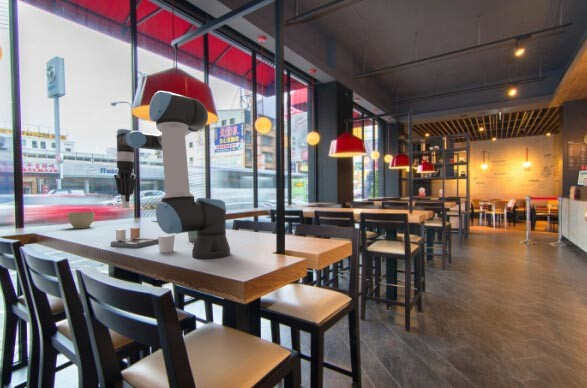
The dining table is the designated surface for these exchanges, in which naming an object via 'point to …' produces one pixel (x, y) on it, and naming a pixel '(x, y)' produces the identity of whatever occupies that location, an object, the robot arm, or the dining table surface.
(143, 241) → the dark grey tray
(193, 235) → the coffee cup
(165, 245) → the white tapered cup
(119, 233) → the cylinder
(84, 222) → the planter bowl
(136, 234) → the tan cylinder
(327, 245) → the dining table surface
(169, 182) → the robot arm
